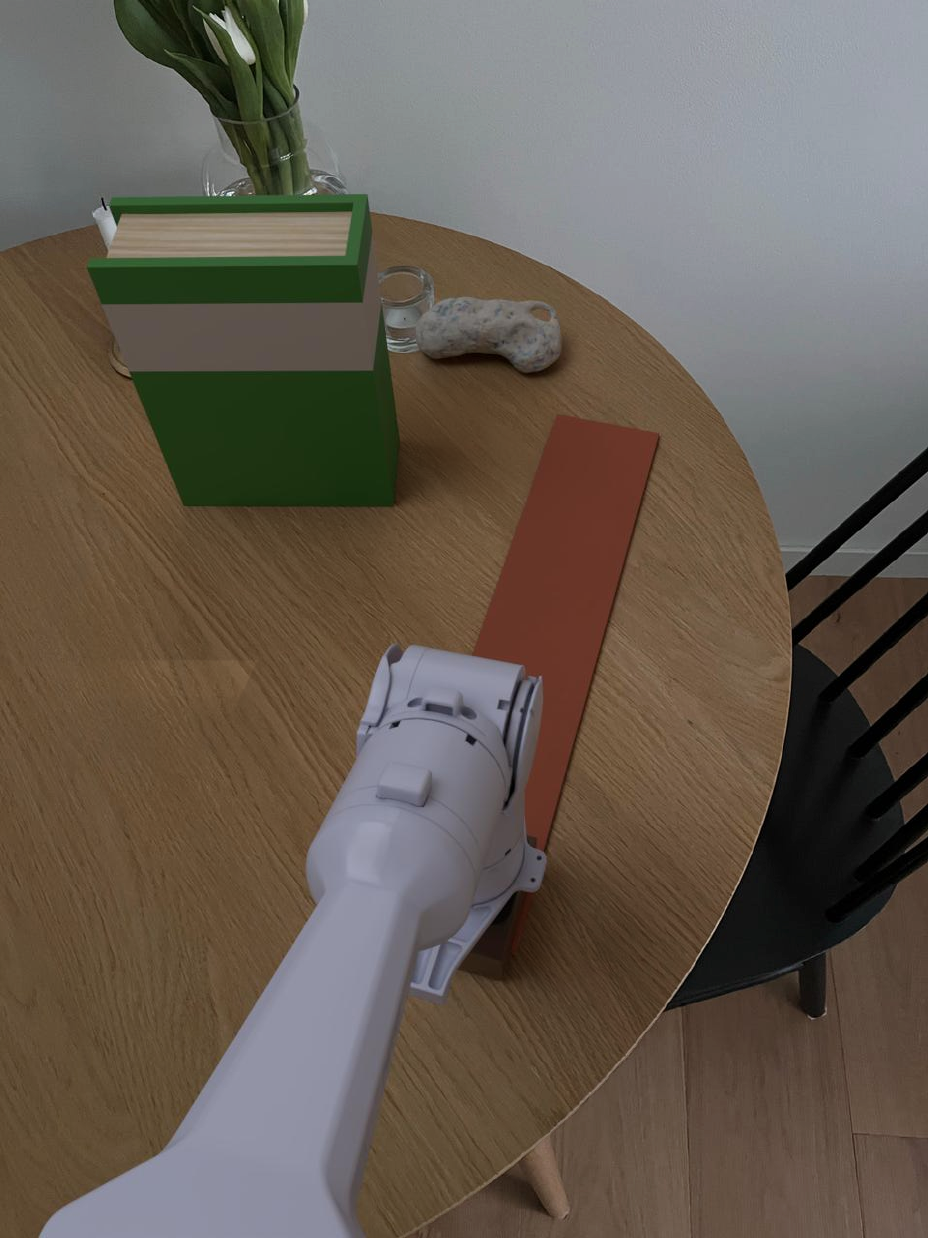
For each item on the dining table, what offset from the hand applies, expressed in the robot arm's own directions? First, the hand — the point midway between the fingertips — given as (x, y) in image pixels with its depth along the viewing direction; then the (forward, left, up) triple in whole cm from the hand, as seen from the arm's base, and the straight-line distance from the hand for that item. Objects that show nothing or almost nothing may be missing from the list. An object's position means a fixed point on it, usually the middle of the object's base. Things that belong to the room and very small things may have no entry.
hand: (473, 909), depth 61 cm
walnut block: (-2, 0, -4) cm, 5 cm away
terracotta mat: (+23, +2, -7) cm, 24 cm away
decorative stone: (+52, +14, -7) cm, 54 cm away
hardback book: (+34, +26, -7) cm, 44 cm away
